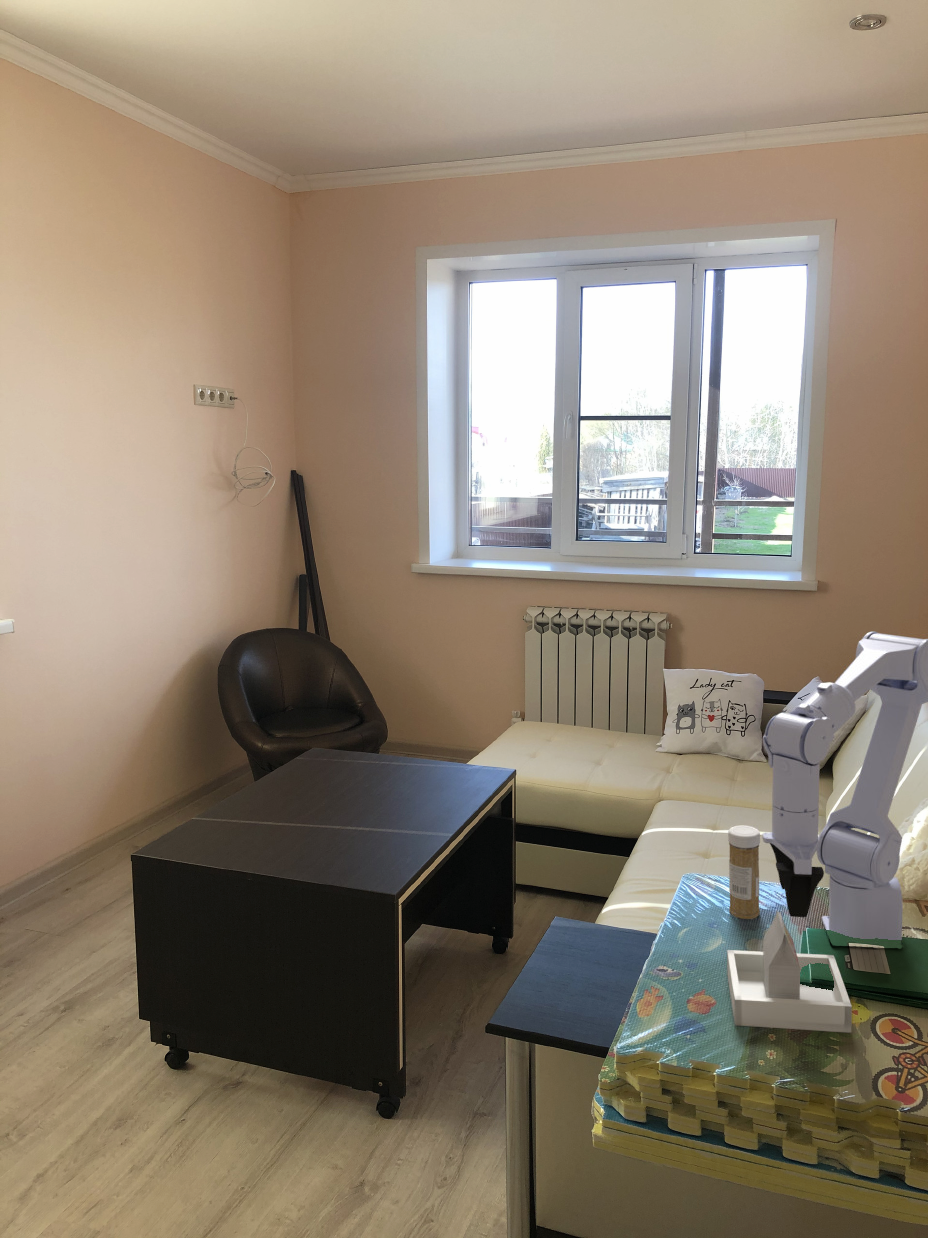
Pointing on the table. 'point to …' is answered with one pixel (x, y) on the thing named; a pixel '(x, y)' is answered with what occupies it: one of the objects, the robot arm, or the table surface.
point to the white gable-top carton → (780, 962)
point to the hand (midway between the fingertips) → (793, 901)
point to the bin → (806, 1014)
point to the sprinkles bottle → (744, 871)
